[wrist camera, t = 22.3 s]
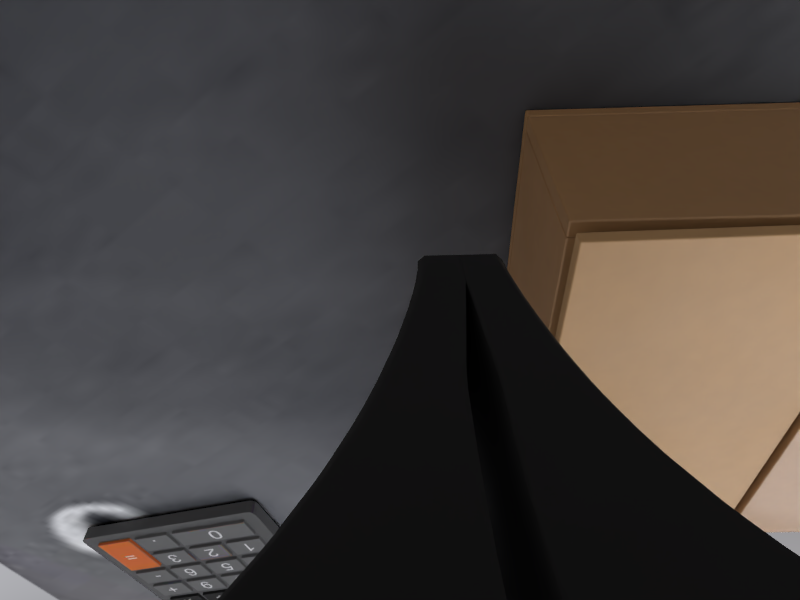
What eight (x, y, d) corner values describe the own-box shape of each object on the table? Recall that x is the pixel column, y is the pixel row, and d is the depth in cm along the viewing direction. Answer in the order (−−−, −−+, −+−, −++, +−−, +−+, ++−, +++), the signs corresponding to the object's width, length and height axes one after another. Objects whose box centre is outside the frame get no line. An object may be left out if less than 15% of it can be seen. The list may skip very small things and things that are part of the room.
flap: (516, 526, 23) (517, 536, 22) (575, 231, 14) (580, 242, 13) (716, 519, 23) (721, 529, 22) (912, 220, 14) (923, 229, 13)
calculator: (251, 514, 33) (342, 614, 43) (254, 499, 34) (343, 600, 44) (78, 542, 36) (201, 631, 45) (85, 528, 36) (204, 618, 46)
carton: (492, 390, 28) (515, 537, 22) (525, 109, 19) (577, 240, 13) (829, 384, 28) (936, 531, 22) (1029, 94, 18) (1296, 222, 13)
